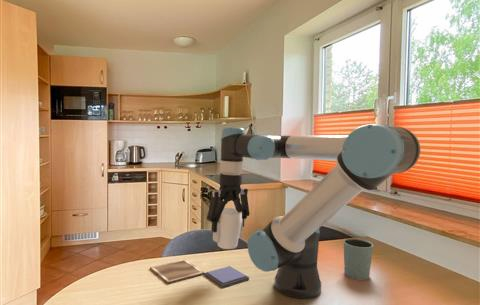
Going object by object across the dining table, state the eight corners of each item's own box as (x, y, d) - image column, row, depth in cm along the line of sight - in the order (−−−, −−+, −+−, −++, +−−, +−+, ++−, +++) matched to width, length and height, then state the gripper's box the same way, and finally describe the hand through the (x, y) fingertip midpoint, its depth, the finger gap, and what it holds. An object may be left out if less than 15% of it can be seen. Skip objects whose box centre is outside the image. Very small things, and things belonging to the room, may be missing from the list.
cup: (241, 242, 117) (243, 209, 116) (239, 251, 108) (240, 215, 107) (216, 240, 118) (218, 207, 117) (211, 249, 109) (213, 213, 108)
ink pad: (248, 279, 113) (249, 276, 113) (222, 287, 106) (222, 284, 106) (229, 268, 121) (229, 265, 121) (204, 275, 115) (204, 271, 115)
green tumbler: (373, 282, 115) (375, 248, 114) (342, 278, 117) (345, 245, 116) (368, 270, 125) (370, 239, 124) (340, 267, 127) (342, 236, 126)
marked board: (204, 274, 115) (204, 272, 115) (167, 284, 107) (167, 282, 107) (184, 260, 126) (185, 259, 126) (149, 268, 118) (150, 267, 118)
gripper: (248, 170, 121) (245, 231, 123) (197, 173, 108) (194, 240, 109) (262, 173, 115) (258, 236, 117) (209, 176, 102) (206, 247, 103)
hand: (227, 238), depth 113 cm, fingers closed on cup, 9 cm apart
